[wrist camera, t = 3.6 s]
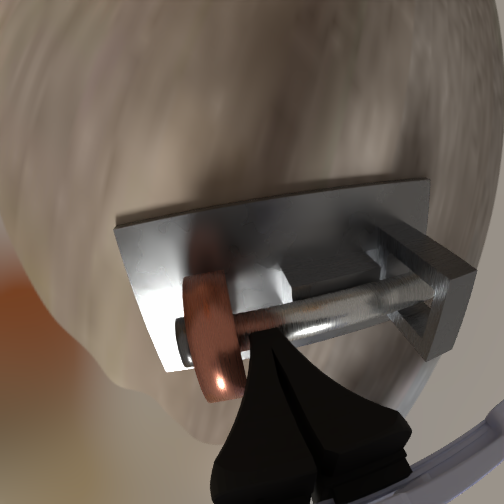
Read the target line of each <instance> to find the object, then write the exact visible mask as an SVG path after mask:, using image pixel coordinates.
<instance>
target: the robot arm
mask: <svg viewBox="0 0 504 504" xmlns="http://www.w3.org/2000/svg"><path fill="white" fill-rule="evenodd" d="M249 341H250V360H249V370H248V376H247V381H246V386H245V390H244V394H243V398H242V402H241V405H240V408H239V411H238V414H237V417H236V419H235V422H234V424H233V427H232V429H231V431H230V433H229V435H228V437H227V440H226V442H225V444H224V445H223V447H222V449H221V451H220V452H219V454H218V456H217V458H216V459H215V461H214V465H213V469H212V474H211V480H210V491H211V497H212V501H213V503H214V504H310V500H311V497H312V501H313V504H447V503H448V502H450V501H451V500H453V499H454V498H456V497H457V496H459V495H460V494H462V493H463V492H464V491H466V490H467V489H468V488H470V487H471V486H473V485H474V484H475V483H477V482H478V481H479V480H481V479H482V478H483V477H484V476H486V475H487V474H488V473H489V472H491V471H492V470H493V469H494V468H495V467H496V466H498V465H499V464H500V463H501V462H502V461H503V460H504V400H503V401H501V402H500V403H499V404H498V405H496V406H495V407H494V408H493V409H492V410H491V411H490V412H489V414H488V415H487V416H486V418H485V420H483V421H482V422H480V423H479V424H478V425H476V426H475V427H474V428H472V429H471V430H469V431H468V432H466V433H465V434H463V435H462V436H460V437H459V438H457V439H456V440H454V441H453V442H451V443H449V444H448V445H446V446H445V447H443V448H441V449H440V450H438V451H436V452H435V453H433V454H431V455H429V456H427V457H426V458H424V459H422V460H420V461H418V462H417V463H414V464H413V465H411V466H409V464H408V462H407V460H406V458H405V457H406V456H407V454H406V452H405V450H404V449H403V448H404V446H405V445H406V443H407V442H408V440H409V438H410V436H411V433H412V430H411V428H410V426H409V425H408V423H407V421H406V420H405V419H404V418H403V417H402V415H401V414H400V413H399V412H398V411H396V410H393V409H390V408H387V407H384V406H381V405H379V404H376V403H374V402H372V401H369V400H367V399H365V398H363V397H361V396H359V395H357V394H355V393H353V392H352V391H350V390H348V389H346V388H345V387H343V386H341V385H340V384H338V383H337V382H335V381H334V380H332V379H331V378H330V377H328V376H327V375H325V374H324V373H323V372H322V371H320V370H319V369H318V368H317V367H316V366H314V365H313V364H312V363H311V362H310V361H309V360H308V359H307V358H306V357H305V356H304V355H303V354H301V353H300V352H299V351H298V350H297V348H296V347H295V346H294V345H293V344H292V343H291V342H290V341H289V340H288V338H287V337H286V336H285V335H284V333H283V332H282V331H281V329H280V328H278V327H276V328H271V329H267V330H262V331H257V332H252V333H250V334H249Z"/></svg>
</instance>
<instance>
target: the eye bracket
mask: <svg viewBox="0 0 504 504" xmlns="http://www.w3.org/2000/svg"><path fill="white" fill-rule="evenodd" d="M429 196H430V179H427V178H416V179H405V180H395V181H385V182H376V183H367V184H358V185H350V186H342V187H334V188H326V189H319V190H312V191H305V192H298V193H291V194H284V195H278V196H271V197H265V198H259V199H252V200H246V201H241V202H235V203H229V204H223V205H218V206H212V207H207V208H201V209H196V210H191V211H186V212H181V213H175V214H170V215H166V216H161V217H156V218H151V219H146V220H142V221H137V222H132V223H128V224H123V225H119V226H116V227H115V228H114V229H113V230H114V234H115V237H116V241H117V244H118V247H119V250H120V253H121V257H122V260H123V263H124V266H125V269H126V272H127V275H128V278H129V281H130V283H131V286H132V289H133V292H134V295H135V297H136V300H137V303H138V305H139V308H140V311H141V313H142V316H143V318H144V321H145V323H146V326H147V328H148V331H149V333H150V336H151V338H152V340H153V343H154V345H155V347H156V350H157V352H158V354H159V357H160V359H161V361H162V363H163V365H164V368H165V370H166V372H170V371H178V370H185V369H191V368H194V367H190V368H185V367H184V365H183V363H182V361H181V358H180V355H179V352H178V348H177V343H176V337H175V319H176V318H179V317H184V311H183V300H182V283H183V278H184V277H186V276H192V275H197V274H202V273H208V272H213V271H218V270H224V274H225V279H226V284H227V289H228V294H229V299H230V304H231V309H232V313H233V314H237V313H242V312H247V311H252V310H257V309H262V308H266V307H271V306H276V305H280V304H285V303H289V302H294V301H298V300H303V299H307V298H311V297H316V296H320V295H324V294H328V293H332V292H336V291H341V290H345V289H349V288H352V287H356V286H360V285H364V284H368V283H372V282H375V281H379V280H383V279H387V278H390V277H394V276H397V275H401V274H404V273H408V272H411V271H413V272H414V273H415V274H416V275H418V276H419V277H420V278H421V279H422V280H423V281H425V282H426V283H427V284H428V285H429V286H430V287H432V288H433V289H434V290H435V293H434V297H433V302H432V306H431V309H430V308H429V307H428V306H427V305H426V304H425V303H424V302H421V303H418V304H415V305H412V306H409V307H407V308H404V309H401V310H398V311H395V312H392V313H389V314H386V315H383V316H379V317H376V318H373V319H370V320H367V321H363V322H360V323H357V324H353V325H350V326H346V327H343V328H339V329H336V330H332V331H328V332H325V333H321V334H317V335H313V336H309V337H305V338H301V339H297V340H293V341H290V342H291V343H292V344H293V345H294V346H295V347H300V346H304V345H308V344H312V343H316V342H319V341H323V340H327V339H330V338H334V337H338V336H341V335H345V334H348V333H351V332H355V331H358V330H361V329H364V328H368V327H371V326H374V325H377V324H380V323H383V322H386V321H389V320H391V321H392V322H393V323H394V324H395V325H396V327H397V328H398V329H399V330H400V331H401V333H402V334H403V335H404V336H405V337H406V339H407V340H408V341H409V342H410V343H411V345H412V346H413V347H414V348H415V349H416V351H417V352H418V353H419V354H420V355H421V357H422V358H423V359H424V360H425V362H427V361H429V360H431V359H433V358H435V357H437V356H439V355H441V354H443V353H445V352H447V351H449V350H451V349H452V348H453V345H454V343H455V340H456V338H457V335H458V332H459V329H460V326H461V324H462V321H463V318H464V315H465V311H466V309H467V305H468V302H469V299H470V296H471V292H472V289H473V285H474V281H475V277H476V274H477V269H475V268H474V267H472V266H471V265H470V264H468V263H467V262H465V261H464V260H462V259H461V258H460V257H458V256H457V255H455V254H454V253H452V252H451V251H449V250H448V249H446V248H445V247H443V246H442V245H440V244H439V243H437V242H436V241H434V240H433V239H431V238H429V237H428V236H426V229H427V220H428V209H429ZM241 356H242V359H247V358H250V350H248V351H243V352H241Z"/></svg>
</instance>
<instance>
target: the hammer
mask: <svg viewBox="0 0 504 504" xmlns="http://www.w3.org/2000/svg"><path fill="white" fill-rule="evenodd" d="M434 293H435V290H434V289H433V288H432V287H430V286H429V285H428V284H427V283H426V282H425V281H423V280H422V279H421V278H420V277H419V276H418V275H416V274H415V273H414V272H413V271H411V272H408V273H404V274H401V275H397V276H394V277H390V278H387V279H383V280H379V281H375V282H372V283H368V284H364V285H360V286H356V287H352V288H349V289H345V290H341V291H336V292H332V293H328V294H324V295H320V296H316V297H311V298H307V299H303V300H298V301H294V302H289V303H285V304H280V305H276V306H271V307H266V308H262V309H257V310H252V311H247V312H242V313H237V314H233V313H232V309H231V304H230V299H229V294H228V289H227V284H226V279H225V274H224V270H218V271H213V272H208V273H202V274H197V275H192V276H186V277H184V278H183V283H182V300H183V311H184V317H179V318H176V319H175V337H176V343H177V348H178V352H179V355H180V358H181V361H182V363H183V365H184V367H185V368H190V367H194V368H195V372H196V375H197V378H198V381H199V384H200V387H201V390H202V392H203V394H204V396H205V398H206V400H207V401H208V402H209V403H214V402H220V401H226V400H232V399H237V398H242V397H243V394H244V390H245V386H246V381H247V379H246V375H245V370H244V366H243V361H242V356H241V352H243V351H248V350H250V341H249V334H250V333H252V332H257V331H262V330H267V329H271V328H276V327H278V328H280V329H281V331H282V332H283V333H284V335H285V336H286V337H287V338H288V340H289V341H293V340H297V339H301V338H305V337H309V336H313V335H317V334H321V333H325V332H328V331H332V330H336V329H339V328H343V327H346V326H350V325H353V324H357V323H360V322H363V321H367V320H370V319H373V318H376V317H379V316H383V315H386V314H389V313H392V312H395V311H398V310H401V309H404V308H407V307H409V306H412V305H415V304H418V303H421V302H424V301H426V300H429V299H431V298H432V297H433V296H434Z"/></svg>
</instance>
